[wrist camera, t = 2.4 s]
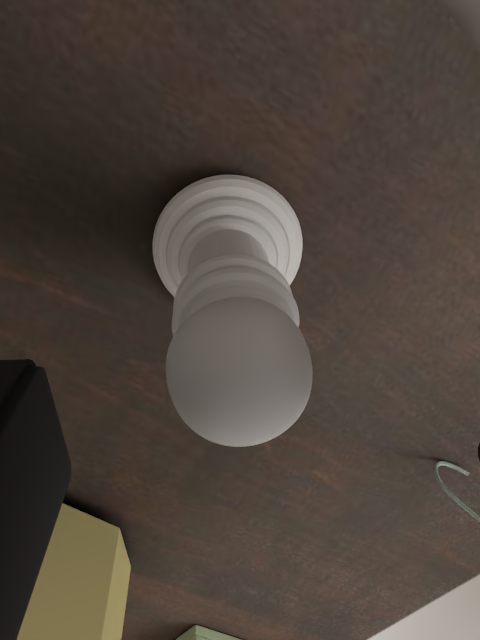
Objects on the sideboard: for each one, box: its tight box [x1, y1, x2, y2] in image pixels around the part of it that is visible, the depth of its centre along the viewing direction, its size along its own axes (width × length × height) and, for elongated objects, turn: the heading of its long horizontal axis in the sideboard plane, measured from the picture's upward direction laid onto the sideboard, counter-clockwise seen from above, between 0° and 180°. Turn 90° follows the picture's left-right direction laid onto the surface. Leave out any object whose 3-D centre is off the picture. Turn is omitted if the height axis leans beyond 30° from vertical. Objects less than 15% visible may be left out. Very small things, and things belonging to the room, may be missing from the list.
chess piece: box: [152, 175, 312, 447], centre depth 13 cm, size 5×5×9 cm
